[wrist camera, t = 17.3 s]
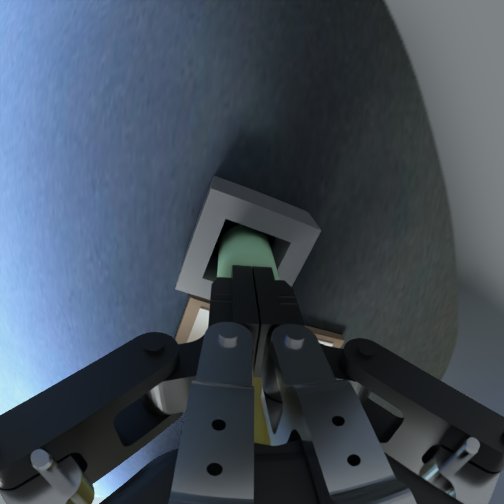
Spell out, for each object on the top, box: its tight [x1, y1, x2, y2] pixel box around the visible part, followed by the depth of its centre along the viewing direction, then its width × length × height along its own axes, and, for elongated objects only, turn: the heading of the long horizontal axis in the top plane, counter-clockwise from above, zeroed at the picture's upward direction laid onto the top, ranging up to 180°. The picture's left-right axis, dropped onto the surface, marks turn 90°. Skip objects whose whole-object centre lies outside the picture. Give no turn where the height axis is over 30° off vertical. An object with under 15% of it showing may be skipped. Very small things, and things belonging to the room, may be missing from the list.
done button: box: [217, 224, 279, 280], centre depth 14 cm, size 2×2×3 cm
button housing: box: [175, 176, 321, 300], centre depth 15 cm, size 5×5×2 cm
